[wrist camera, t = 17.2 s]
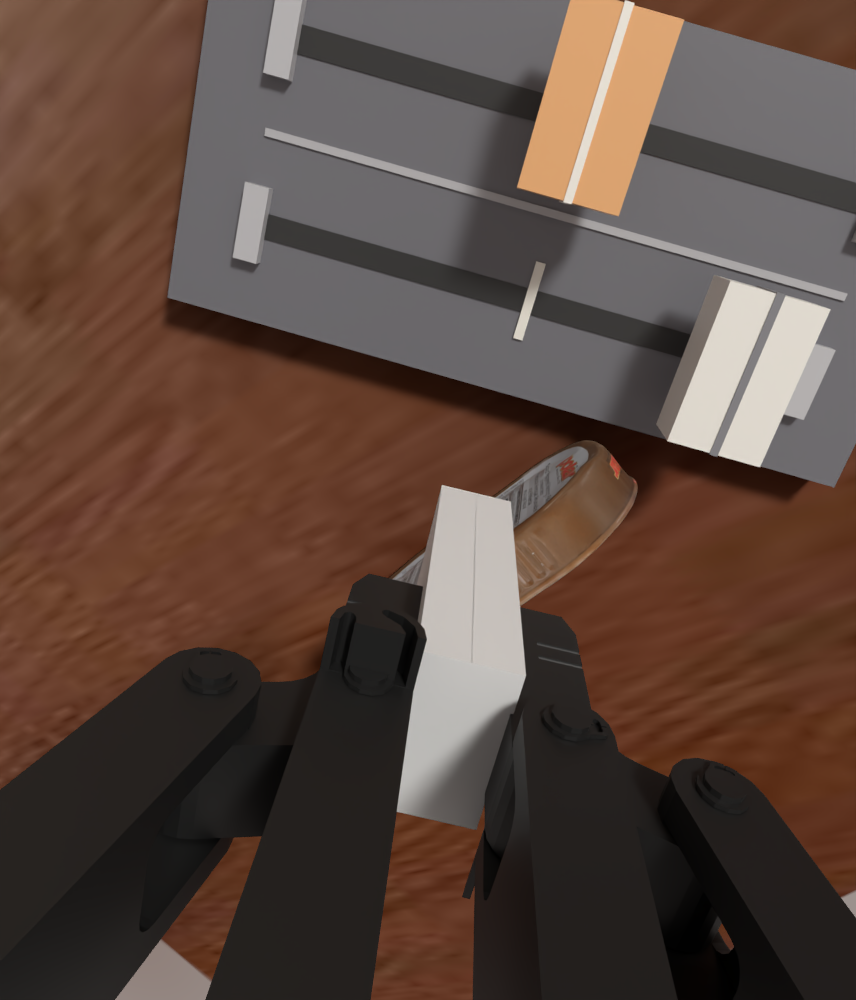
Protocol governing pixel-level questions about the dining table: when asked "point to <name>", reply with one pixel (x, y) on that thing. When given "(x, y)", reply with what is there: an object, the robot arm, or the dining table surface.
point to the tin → (558, 514)
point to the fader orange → (598, 103)
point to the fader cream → (739, 370)
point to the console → (515, 205)
